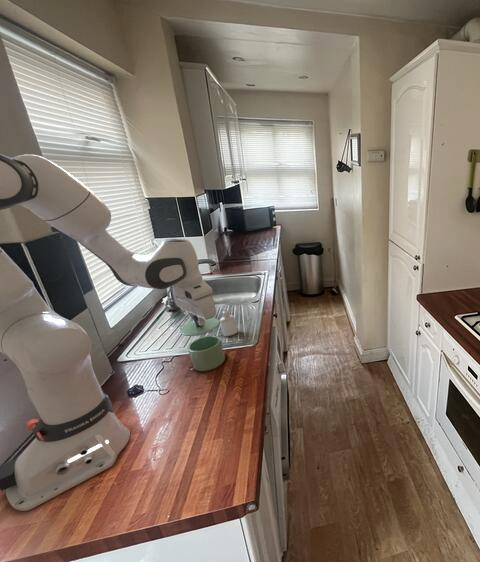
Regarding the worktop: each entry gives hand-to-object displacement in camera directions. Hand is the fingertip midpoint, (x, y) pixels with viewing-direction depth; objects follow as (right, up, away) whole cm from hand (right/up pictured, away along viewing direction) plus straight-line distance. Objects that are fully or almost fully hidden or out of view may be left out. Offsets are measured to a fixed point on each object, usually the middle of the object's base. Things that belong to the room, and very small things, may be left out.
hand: (199, 323), depth 106 cm
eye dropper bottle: (-1, -8, +25) cm, 26 cm away
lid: (0, -1, +1) cm, 2 cm away
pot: (0, -15, +6) cm, 17 cm away
